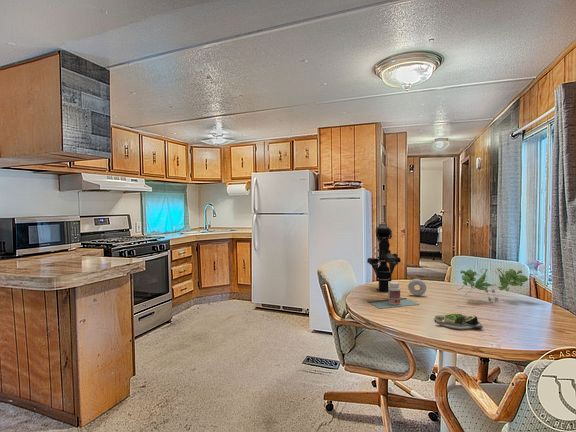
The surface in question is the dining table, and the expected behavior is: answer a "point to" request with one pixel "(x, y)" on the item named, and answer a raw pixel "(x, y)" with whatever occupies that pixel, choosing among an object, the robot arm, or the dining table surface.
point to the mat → (388, 305)
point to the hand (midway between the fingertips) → (384, 275)
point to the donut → (417, 282)
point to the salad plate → (458, 321)
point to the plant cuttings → (479, 284)
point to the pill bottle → (394, 293)
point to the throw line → (383, 300)
